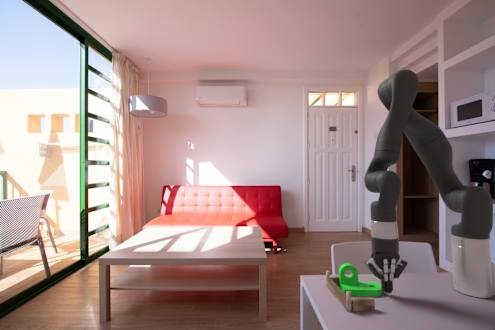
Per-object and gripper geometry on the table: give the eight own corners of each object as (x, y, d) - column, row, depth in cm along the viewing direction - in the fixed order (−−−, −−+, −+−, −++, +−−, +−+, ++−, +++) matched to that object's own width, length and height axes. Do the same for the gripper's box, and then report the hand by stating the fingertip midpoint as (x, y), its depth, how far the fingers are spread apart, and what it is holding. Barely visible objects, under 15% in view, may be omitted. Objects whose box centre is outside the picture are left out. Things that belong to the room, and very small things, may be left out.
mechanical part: (344, 296, 78) (343, 269, 78) (339, 287, 84) (338, 262, 84) (385, 297, 77) (384, 270, 77) (376, 288, 83) (376, 263, 83)
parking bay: (347, 284, 85) (347, 269, 85) (375, 310, 69) (374, 291, 69) (325, 285, 84) (325, 270, 85) (347, 311, 68) (347, 293, 69)
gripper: (396, 231, 82) (399, 285, 81) (357, 233, 81) (360, 287, 81) (413, 237, 75) (416, 296, 74) (370, 239, 74) (373, 299, 73)
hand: (387, 291), depth 77 cm, fingers closed
